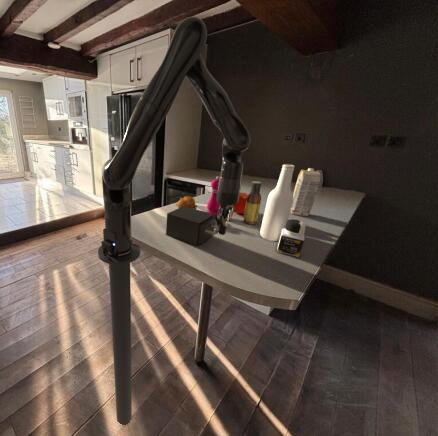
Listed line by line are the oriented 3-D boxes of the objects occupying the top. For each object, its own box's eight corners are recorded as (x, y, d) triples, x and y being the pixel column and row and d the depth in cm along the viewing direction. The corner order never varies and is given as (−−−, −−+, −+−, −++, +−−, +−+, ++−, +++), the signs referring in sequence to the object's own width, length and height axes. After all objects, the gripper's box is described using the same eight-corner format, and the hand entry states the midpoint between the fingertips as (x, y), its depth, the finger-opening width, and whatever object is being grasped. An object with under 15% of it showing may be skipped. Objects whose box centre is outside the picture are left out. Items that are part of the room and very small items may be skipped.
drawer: (223, 237, 94) (225, 220, 91) (210, 248, 86) (213, 229, 83) (185, 225, 105) (187, 209, 102) (171, 233, 96) (172, 216, 93)
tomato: (235, 205, 135) (238, 188, 131) (260, 214, 122) (264, 196, 118) (218, 209, 128) (220, 192, 124) (243, 219, 115) (246, 200, 111)
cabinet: (211, 235, 98) (214, 214, 94) (196, 245, 89) (199, 223, 85) (181, 225, 107) (183, 205, 103) (165, 234, 98) (167, 213, 94)
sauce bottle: (251, 219, 115) (259, 180, 108) (259, 224, 110) (268, 183, 102) (239, 220, 114) (247, 180, 106) (247, 225, 108) (255, 183, 101)
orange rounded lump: (201, 212, 123) (201, 195, 118) (190, 222, 117) (189, 205, 111) (185, 207, 129) (184, 191, 124) (174, 216, 123) (172, 200, 117)
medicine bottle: (276, 251, 86) (284, 222, 82) (278, 244, 92) (285, 216, 87) (299, 257, 83) (308, 227, 78) (299, 249, 88) (308, 220, 84)
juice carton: (308, 212, 126) (321, 168, 117) (309, 217, 119) (324, 171, 110) (288, 209, 130) (300, 166, 121) (289, 214, 123) (301, 169, 114)
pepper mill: (217, 217, 116) (223, 178, 109) (204, 214, 120) (208, 176, 112) (221, 213, 122) (227, 175, 115) (208, 210, 126) (213, 174, 118)
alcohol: (255, 234, 99) (270, 164, 88) (267, 230, 103) (284, 162, 92) (274, 243, 92) (293, 167, 81) (287, 238, 96) (307, 166, 85)
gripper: (225, 184, 88) (219, 225, 95) (210, 191, 79) (204, 236, 85) (245, 188, 84) (238, 231, 90) (232, 195, 74) (224, 243, 81)
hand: (222, 233), depth 88 cm, fingers closed
